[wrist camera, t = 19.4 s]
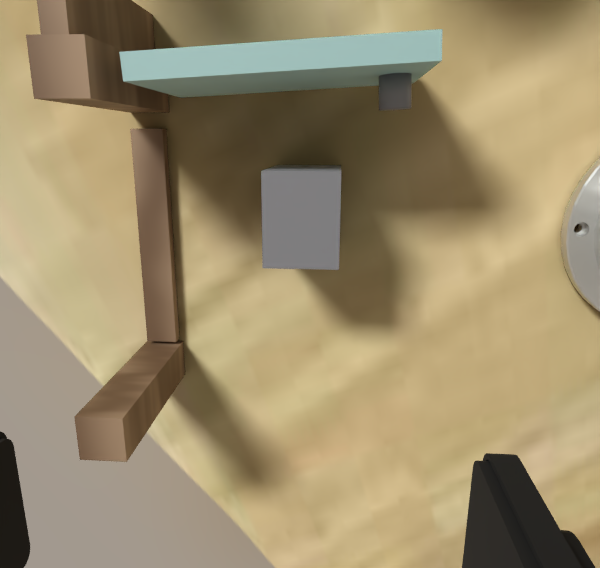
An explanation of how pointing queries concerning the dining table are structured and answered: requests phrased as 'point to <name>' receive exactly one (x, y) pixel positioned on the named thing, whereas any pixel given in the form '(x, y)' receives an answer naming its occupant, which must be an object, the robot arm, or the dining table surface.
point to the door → (291, 66)
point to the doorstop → (301, 216)
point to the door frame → (149, 198)
